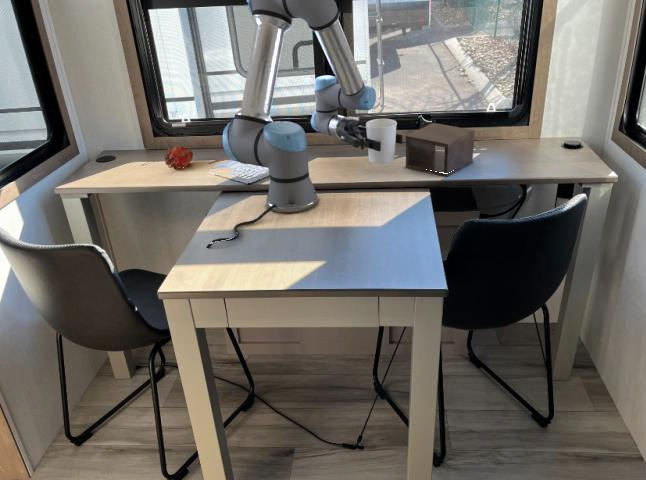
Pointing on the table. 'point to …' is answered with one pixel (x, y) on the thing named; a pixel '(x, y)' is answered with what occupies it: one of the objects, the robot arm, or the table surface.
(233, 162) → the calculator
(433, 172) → the dark brown cubby box
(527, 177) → the table surface
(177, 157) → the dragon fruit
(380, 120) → the candle holder
